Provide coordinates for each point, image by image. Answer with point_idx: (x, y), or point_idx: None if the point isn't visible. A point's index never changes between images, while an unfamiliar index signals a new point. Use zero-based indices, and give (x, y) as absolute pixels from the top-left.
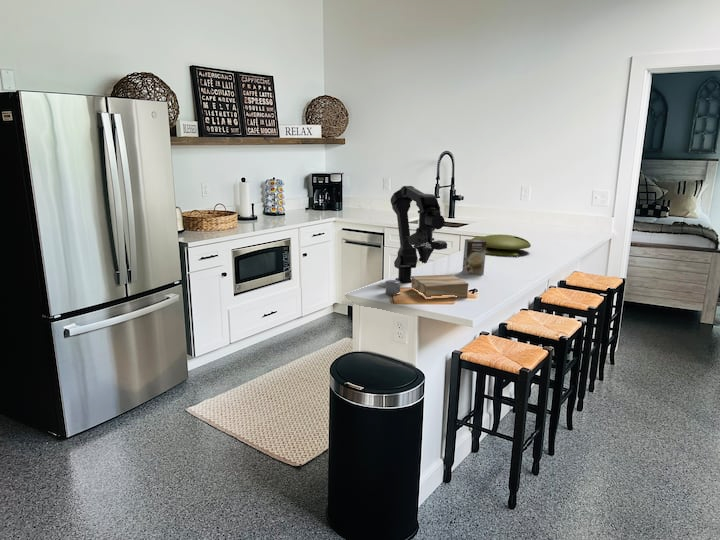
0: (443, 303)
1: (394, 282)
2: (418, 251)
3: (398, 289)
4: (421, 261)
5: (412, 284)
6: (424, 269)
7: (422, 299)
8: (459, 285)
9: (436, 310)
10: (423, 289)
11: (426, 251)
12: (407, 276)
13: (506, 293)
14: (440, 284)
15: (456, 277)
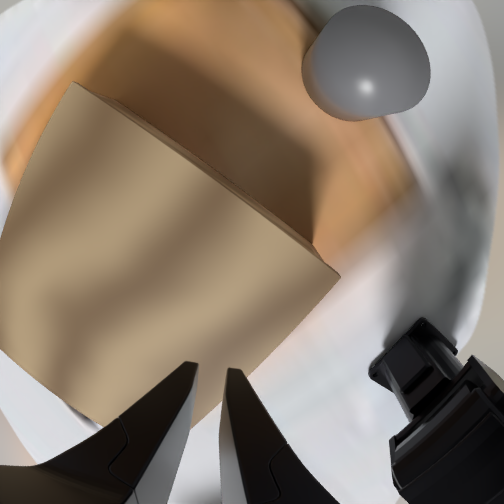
0: (27, 122)
1: (354, 35)
2: (317, 495)
3: (309, 56)
4: (241, 376)
5: (306, 245)
6: (385, 495)
7: (132, 91)
8: None
9: (20, 20)
10: (126, 115)
11: (38, 472)
12: (404, 362)
13: (11, 410)
14: (26, 199)
15: (92, 417)
